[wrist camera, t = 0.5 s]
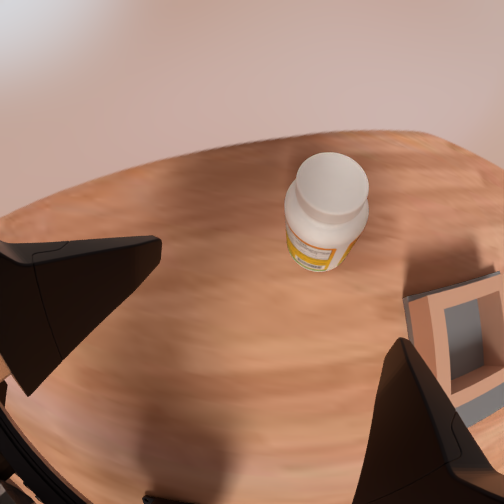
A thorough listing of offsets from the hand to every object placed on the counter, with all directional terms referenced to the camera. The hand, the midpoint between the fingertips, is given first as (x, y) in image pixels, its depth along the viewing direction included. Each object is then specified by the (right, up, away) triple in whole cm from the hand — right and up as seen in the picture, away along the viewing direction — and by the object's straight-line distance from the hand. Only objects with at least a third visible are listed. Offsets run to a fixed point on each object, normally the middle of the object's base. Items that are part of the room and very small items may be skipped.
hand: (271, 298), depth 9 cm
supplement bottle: (+5, +2, +14) cm, 15 cm away
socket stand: (+19, -8, +9) cm, 22 cm away
